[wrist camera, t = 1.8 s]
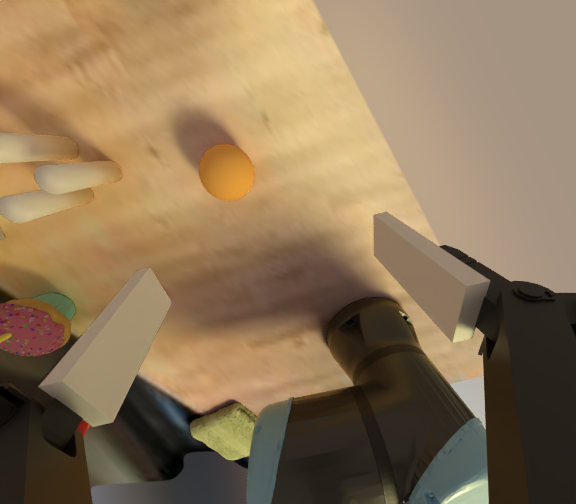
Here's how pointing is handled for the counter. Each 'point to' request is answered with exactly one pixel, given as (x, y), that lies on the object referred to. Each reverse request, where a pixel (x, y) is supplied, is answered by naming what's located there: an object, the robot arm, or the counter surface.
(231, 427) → the washcloth
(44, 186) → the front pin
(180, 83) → the counter surface
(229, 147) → the ball
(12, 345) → the cupcake
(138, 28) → the counter surface
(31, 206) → the pin
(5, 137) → the pin
